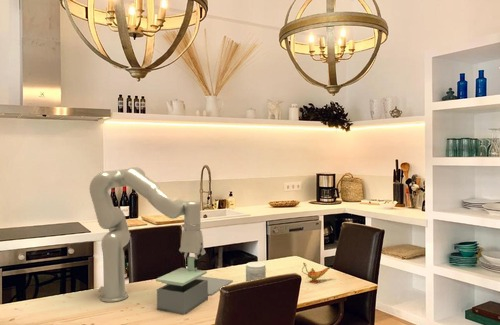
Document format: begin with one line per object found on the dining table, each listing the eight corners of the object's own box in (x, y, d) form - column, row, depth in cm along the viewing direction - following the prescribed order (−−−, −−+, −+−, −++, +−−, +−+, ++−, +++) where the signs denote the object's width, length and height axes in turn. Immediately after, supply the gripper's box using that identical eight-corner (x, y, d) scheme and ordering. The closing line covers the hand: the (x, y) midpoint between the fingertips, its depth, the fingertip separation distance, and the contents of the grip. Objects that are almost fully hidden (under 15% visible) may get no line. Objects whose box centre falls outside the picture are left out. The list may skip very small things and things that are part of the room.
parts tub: (157, 309, 182) (156, 289, 182) (182, 295, 201) (182, 276, 200) (184, 314, 177) (184, 293, 176) (207, 299, 195) (207, 280, 195)
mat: (172, 289, 209) (172, 288, 209) (197, 276, 231) (197, 275, 231) (211, 295, 200) (211, 294, 200) (233, 281, 222) (233, 280, 222)
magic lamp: (334, 281, 221) (334, 260, 221) (305, 285, 215) (305, 264, 214) (327, 277, 228) (327, 257, 227) (298, 281, 221) (298, 261, 221)
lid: (155, 283, 182) (156, 265, 182) (181, 271, 200) (181, 255, 200) (183, 287, 176) (183, 269, 176) (206, 275, 195) (206, 258, 195)
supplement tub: (245, 291, 206) (244, 261, 206) (264, 290, 207) (264, 261, 206) (246, 298, 196) (246, 267, 196) (267, 297, 197) (266, 266, 197)
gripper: (172, 227, 196) (172, 266, 196) (203, 230, 189) (203, 270, 189) (181, 225, 202) (181, 262, 203) (211, 227, 196) (211, 266, 196)
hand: (192, 266), depth 196 cm, fingers closed on lid, 4 cm apart
